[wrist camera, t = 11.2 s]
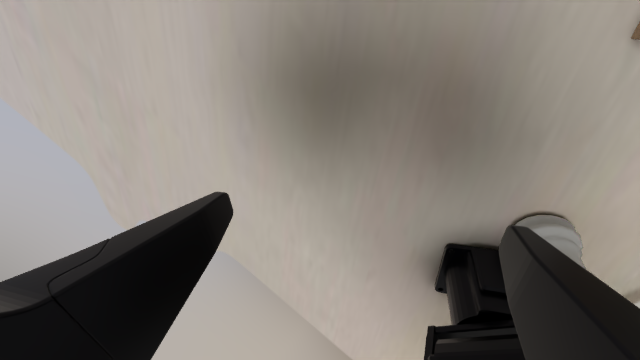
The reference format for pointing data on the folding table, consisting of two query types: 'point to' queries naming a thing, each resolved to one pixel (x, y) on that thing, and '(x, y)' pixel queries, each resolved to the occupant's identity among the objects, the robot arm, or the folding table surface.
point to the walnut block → (636, 33)
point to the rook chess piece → (556, 234)
